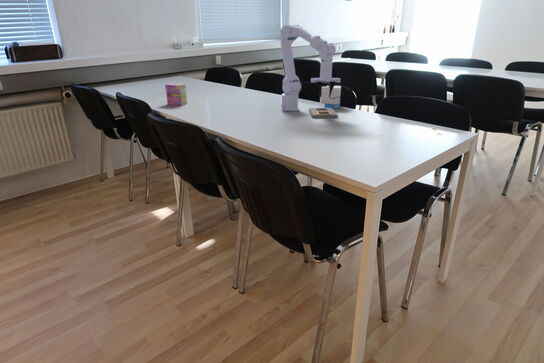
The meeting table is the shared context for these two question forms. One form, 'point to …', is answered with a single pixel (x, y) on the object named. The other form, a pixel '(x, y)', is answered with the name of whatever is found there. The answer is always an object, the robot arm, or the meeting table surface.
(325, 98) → the steel peg
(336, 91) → the ink box
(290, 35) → the robot arm
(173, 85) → the box
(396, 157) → the meeting table surface
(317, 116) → the socket board
